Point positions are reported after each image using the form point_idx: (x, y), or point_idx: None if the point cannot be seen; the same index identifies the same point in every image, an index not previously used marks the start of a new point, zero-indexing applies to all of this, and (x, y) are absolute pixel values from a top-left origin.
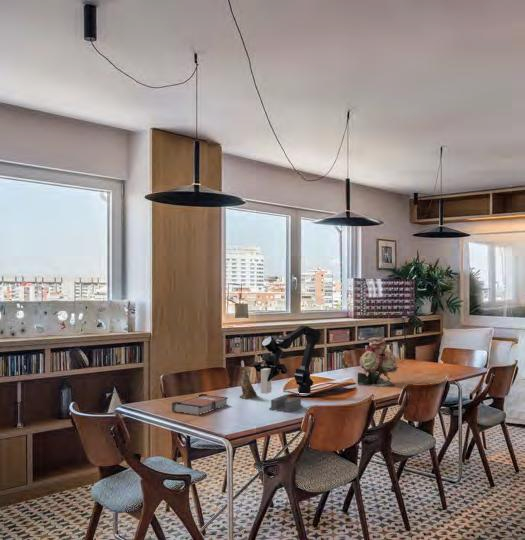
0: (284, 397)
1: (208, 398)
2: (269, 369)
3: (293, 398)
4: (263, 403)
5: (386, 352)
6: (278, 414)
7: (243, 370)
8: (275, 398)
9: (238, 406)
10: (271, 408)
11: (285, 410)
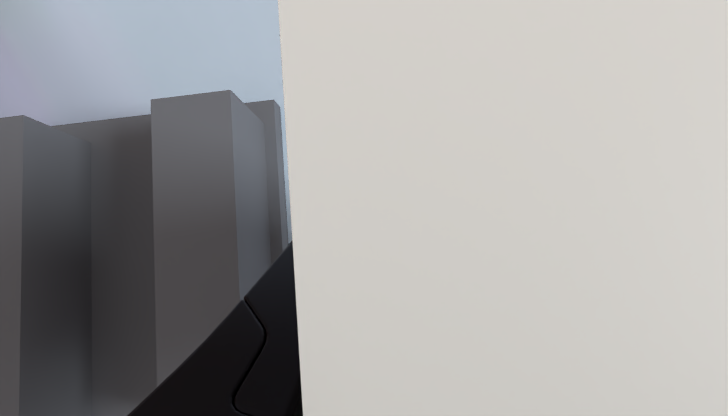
0: (157, 349)
1: None
2: (312, 403)
3: (9, 356)
4: None
5: None
6: (97, 8)
7: None
8: (231, 207)
9: None
10: (246, 103)
11: (74, 125)
